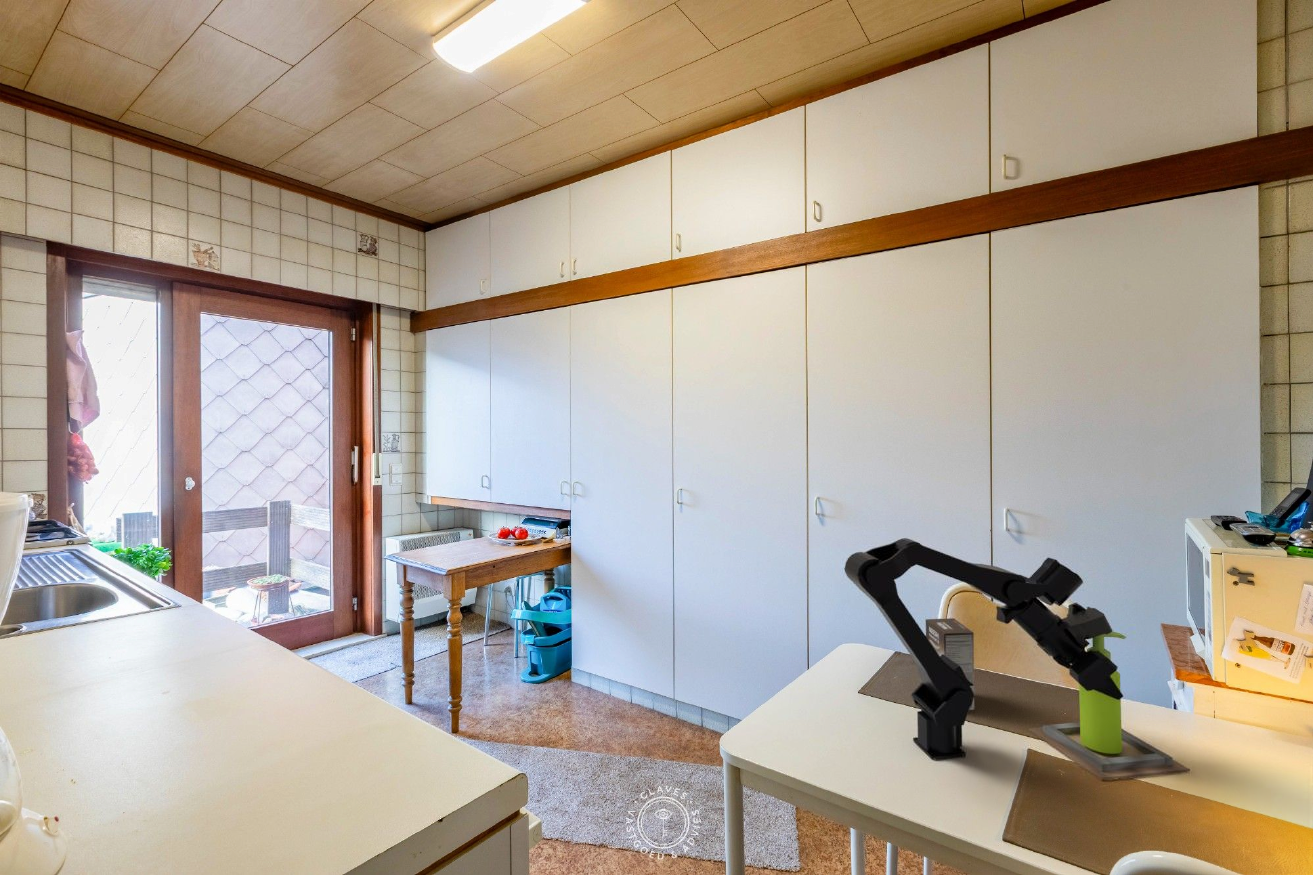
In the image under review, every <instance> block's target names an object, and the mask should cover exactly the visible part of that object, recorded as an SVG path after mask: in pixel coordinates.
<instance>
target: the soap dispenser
mask: <svg viewBox="0 0 1313 875" xmlns="http://www.w3.org/2000/svg"><path fill="white" fill-rule="evenodd" d="M1105 638H1118V639H1123V640H1125V639H1126V638H1127V636H1125V635H1124V634H1122V633H1119V632H1116V631H1112V632H1111V633H1109V634H1103V635H1100V636H1097V637H1094V638H1091V640H1092V646H1090V647H1088V648H1086V652H1089V651H1090V650H1092V651H1099V652H1101V653H1102V654H1103V655H1105V656H1106V657H1107V658H1109V659H1110V660H1111V661H1112V659H1111V651H1109V650H1107V649H1106V648H1105ZM1110 677H1111V678H1112V680H1113V681H1114V683H1115V684H1116V686H1117V687H1118V689H1119V690H1120V692H1121V674H1120V672H1119V671H1118V670H1117V671H1115V672H1114V673H1113V674H1112V675H1110ZM1078 690H1079V691H1078V693H1079V694H1078V696H1079V699H1078V700H1079V722H1080V740H1081V743H1082V744H1083V745H1084V746H1086V747H1088V748H1090V749H1092V750H1095V751H1098V752H1102V753H1108V754H1117V753H1120V752H1122V729H1123V728H1122V701H1121V700H1122V698H1121V699H1120V700H1117V699H1115V698H1112V697H1110V696H1108V695H1105V694H1103V693H1100V692H1098V691H1095V690H1091V691H1087V690H1085V689H1084V688H1083V687H1082V686H1081V685H1080V684H1079V683H1078ZM1121 693H1122V692H1121Z"/></svg>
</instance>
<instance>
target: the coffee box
mask: <svg viewBox="0 0 1313 875" xmlns="http://www.w3.org/2000/svg"><path fill="white" fill-rule="evenodd" d="M974 635H975V634H974V632H973V631H972V630H970V629H969V628H967V627H966V626H965V625H964V624H962V623H961V622H959V621H958V620H957V619H955V618H954V617H953V618H951V617H950V618H927V619H925V636H926V637H927V639H928V640H929V641H930V643H931V644H932V646H933V647H934V649H935V650H936V652H937V653H938V655H939V656H941V655H942V654H944V655H945V656H946V657H948V658H949V659H951V660H952V661H953V662H955V663H956V664H958V665H959V666H960V667H961V668H962V670H963V672H964V674H965V676H966V678H967V679H968V680H969V681H970V682H971V683H972V684H974V685H973V686H970V687H971V688H972V690H973V692H974V693H975V655H974V654H975V650H974V649H975V648H974V647H975V646H974V645H975V642H974V640H975V639H974ZM974 710H975V697H974V698H973V703H972V705H971V707H970V708H969V711H974Z"/></svg>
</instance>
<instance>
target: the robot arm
mask: <svg viewBox="0 0 1313 875" xmlns="http://www.w3.org/2000/svg"><path fill="white" fill-rule="evenodd" d="M846 559H847V560H846V562H845V565H844V573H845V575H846V577H847V578H848V579H849V581H851V582H852V583H853V584H854V585H855V586H856V587H857V589H859V590H860V591H861V592H862V593H863V594H864V595H865V596H866V597H868V598H869V599H870V600H871V601H872V602H873V603H874V605H875V606H876V607H877V608H878V610H879V611H880V613H881V614H882V616H883V617H884V619H885V620H886V621H887V623H888V624H889V627H891V628H892V630H893V632H894V633H895V635H896V637H897V638H898V639H899V640H900V642H901V643H902V645H903V646H904V647H905V649H906V650H907V652H908V653H909V655H910V656H911V658H912V659H913V662H915V664H916V665H917V670H918V675H919V678H920V679H921V683H920V684H919V685H918V686H917V688H916V689H914V691H913V692H912V693H911V698H912V701H913V703H914V705H915V706H916V707H918V708H919V709H920V710H919V711H917V736H916V737H913V738H912V741H913V743H915V744H916V745H917V746H918V748H920V749H921V750H922V751H923V752H924V753H925V754H926V755H927V756H929V758H930V759H932V760H939V759H940V760H941V759H951V758H960V757H962V758H963V757H966V755H967V752H966V751H965V750H963V749H962V748H963V726H964V725H965V723H966V719H967V716H968V712H969V711H970V710H969V708H970V707H971V705H972V703H973V698H974V699H975V691H974V692H973V690H972V688H971V687H970V686H973V685H974V686H975V683H974V684H972V683H971V682H970V681H969V680H968V679H967V678H966V676H965V674H964V672H963V670H962V668H961V667H960V666H959V665H958V664H956V663H955V662H953V661H952V660H951V659H949V658H948V657H946V656H945V655H944V654H942V655H941V656H939V655H938V653H937V652H936V650H935V649H934V647H933V646H932V644H931V643H930V641H929V640H928V639H927V637H926V633H924V631H923V630H922V628H921V627H920V625H919V624H918V623H917V621H916V620H915V618H914V617H913V615H912V613H910V611H909V610H908V608H907V607H906V605H905V604H904V602H903V601H902V599H901V598H900V596H899V592H898V588H897V584H896V581H895V580H897V579H900V578H901V577H902V576H903V575H905V573H906V572H908V571H909V570H910V569H911V568H913V567H914V566H919V567H922V568H924V569H928V570H930V571H933V572H935V573H938V574H941V575H943V576H946V577H949V578H952V579H954V580H957V581H959V582H962V583H965V584H967V585H969V586H970V587H971V588H973V589H975V590H976V591H978V592H980V593H982V594H983V595H985V596H987V597H989V598H991V599H993V600H995V601H998V602H1000V603H1002V604H1004V605H1003V606H1002V605H1001V606H996V617H995V619H996V621H998V622H1001V623H1003V624H1006V625H1008V624H1010V623H1011V622H1012V620H1013V621H1014V622H1015V623H1016V624H1017V625H1018V626H1019V627H1020V628H1021V629H1022V630H1023V631H1024V632H1026V633H1027V634H1028V635H1029V637H1031V639H1033V640H1034V641H1035V642H1036V645H1037V646H1038V647H1039V648H1040V649H1042V651H1044V653H1045V654H1046V655H1048V656H1049V657H1052V660H1054V661H1055V662H1056V663H1057V664H1058V665H1060V666H1062V667H1064V668H1066V669H1068V670H1069V673H1068V674H1069V676H1070V677H1072V678H1073V680H1074V681H1076V682H1077V683H1078V685H1079V684H1080V685H1081V686H1082V687H1083V688H1084V689H1085V690H1087V691H1091V690H1095V691H1098V692H1100V693H1103V694H1105V695H1108V696H1110V697H1112V698H1115V699H1117V700H1120V699H1121V700H1122V698H1123V697H1124V695H1123V693H1122V692H1120V690H1121V689H1120V690H1119V689H1118V687H1117V686H1116V684H1115V683H1114V681H1113V680H1112V678H1111V677H1110V675H1112V674H1113V673H1114V672H1115V671H1117V672H1118V665H1116V664H1115V663H1114V662H1113V661H1112V659H1111V660H1110V659H1109V658H1107V657H1106V656H1105V655H1103V654H1102V653H1101V652H1099V651H1092V650H1090V651H1089V652H1087V650H1086V648H1087V647H1088V646H1090V644H1091V643H1090V642H1089V641H1088V640H1090V639H1091V640H1092V638H1094V637H1097V636H1100V635H1103V634H1109V633H1111V632H1112V631H1113V628H1112V626H1111V625H1110V623H1109V621H1108V619H1107V617H1106V615H1105V613H1103V612H1102V611H1100V610H1098V609H1097V608H1096V607H1091V606H1087V607H1086V608H1085V607H1083V606H1082V605H1081V604H1080V603H1078V602H1074V603H1071V604H1068V605H1067V606H1068V608H1067V609H1068V610H1067V611H1068V613H1067V614H1066V617H1063V618H1061V616H1059V615H1058V614H1055V613H1054V612H1053V611H1052V610H1050V609H1049V607H1047V606H1051V607H1052V606H1053V605H1057V606H1059V607H1061V606H1062V605H1063V604H1064V603H1066V601H1067V600H1068V599H1069V598H1070V597H1071V596H1072V595H1074V593H1075V592H1077V590H1078V589H1079V588H1080V587H1081V586H1082V585H1083V584H1084V580H1083V579H1082V578H1081V576H1080V575H1079V574H1078V573H1077V572H1074V571H1073V570H1071V569H1070V568H1069V567H1067V566H1065V565H1064V564H1062V563H1061V562H1059V561H1058V559H1055V558H1053V557H1047V558H1046V559H1045V560H1043V562H1042V564H1041V565H1040V566H1039V567H1038V569H1036V570H1035V572H1034V573H1033V574H1031V576H1029V577H1027V576H1025V575H1023V574H1018V573H1014V572H1012V571H1009V570H1007V569H1005V568H1002V567H999V566H995V565H989V564H984V563H974V562H969V561H965V560H963V559H960V558H959V557H958V558H957V557H955V556H953V555H949V554H947V553H944V552H942V551H939V550H936V549H933V548H931V547H928V546H926V545H923V544H922V543H920V542H918V541H915V540H913V539H911V538H906V537H905V538H900V539H897V540H895V541H894V542H892V543H888V544H885V545H881V546H877V547H873V548H871V549H869V550H867V551H858V552H854V553H852V554H851V555H850V556H849V557H848V558H846ZM1045 604H1046V605H1047V606H1046V605H1045ZM1113 632H1114V631H1113Z"/></svg>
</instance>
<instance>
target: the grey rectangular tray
mask: <svg viewBox="0 0 1313 875" xmlns="http://www.w3.org/2000/svg"><path fill="white" fill-rule="evenodd" d="M1121 729H1122V752H1120V753H1117V754H1108V753H1102V752H1098V751H1095V750H1092V749H1090V748H1088V747H1086V746H1084V745H1083V744H1082V743H1081V740H1080V721H1078V722H1065V723H1056V724H1054V723H1053V724H1045V725H1044V724H1043V725H1042V726H1041V727H1033V728H1029V729H1028V730H1029V732H1030V733H1032V734H1033V735H1034V736H1035V737H1038V738H1039V739H1040V740H1042V741H1043V742H1044V743H1046V744H1047V745H1049V746H1050V747H1052V748H1053V749H1055V751H1058V752H1059V753H1060V754H1062V755H1063V756H1064V757H1066V758H1067V759H1069V760H1071V761H1072V762H1073V763H1075V764H1076V763H1077V765H1078V766H1080V768H1082V769H1084V770H1085V769H1086V770H1085V771H1086V772H1088V771H1089V772H1088V773H1090V774H1091V773H1092V774H1091V775H1093V776H1094V775H1095V776H1096V777H1095V776H1094V777H1095V778H1097V779H1098V778H1099V779H1098V780H1099V781H1101V780H1106V781H1111V780H1110V779H1115V778H1126V779H1134V778H1135V779H1136V778H1142V777H1143V778H1145V777H1152V776H1153V777H1155V776H1164V775H1165V776H1166V775H1172V774H1173V775H1174V774H1183V773H1190V772H1191V768H1189V767H1188V766H1186V765H1184V764H1182V763H1180V762H1178V761H1176V760H1175V759H1174V757H1172V756H1171V755H1169V754H1167V753H1166V752H1164V751H1162V750H1161V749H1159V748H1157V747H1155V746H1153V745H1152V744H1150V743H1148V742H1146V741H1145V740H1142V739H1141V738H1139V737H1137V736H1136V735H1134V734H1132V733H1131V732H1129V731H1126V730H1125V729H1123V728H1121Z"/></svg>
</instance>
